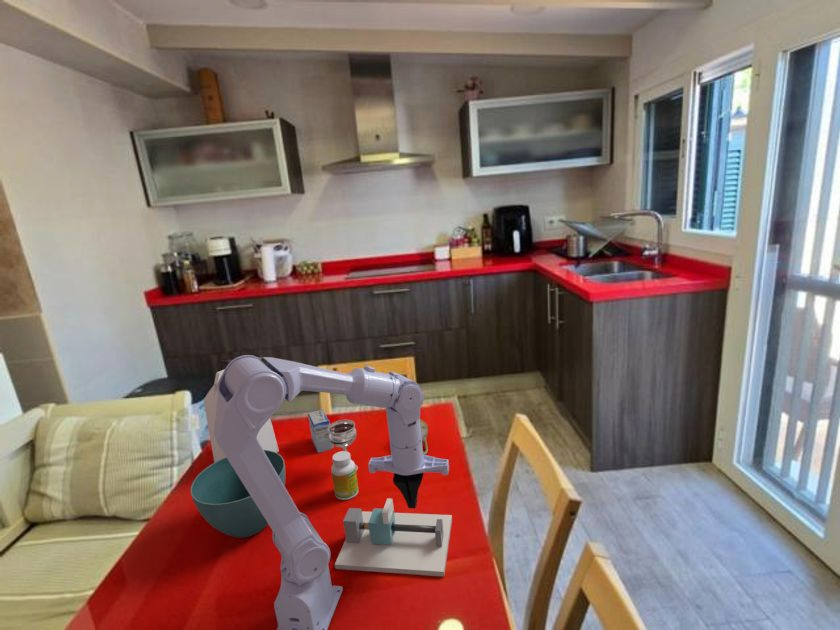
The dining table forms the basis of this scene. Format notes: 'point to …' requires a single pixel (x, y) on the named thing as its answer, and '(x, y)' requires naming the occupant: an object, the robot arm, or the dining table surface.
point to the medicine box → (320, 430)
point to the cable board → (397, 544)
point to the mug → (424, 434)
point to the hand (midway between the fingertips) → (412, 504)
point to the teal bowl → (230, 498)
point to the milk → (210, 404)
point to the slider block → (382, 524)
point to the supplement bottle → (344, 476)
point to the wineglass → (342, 434)
